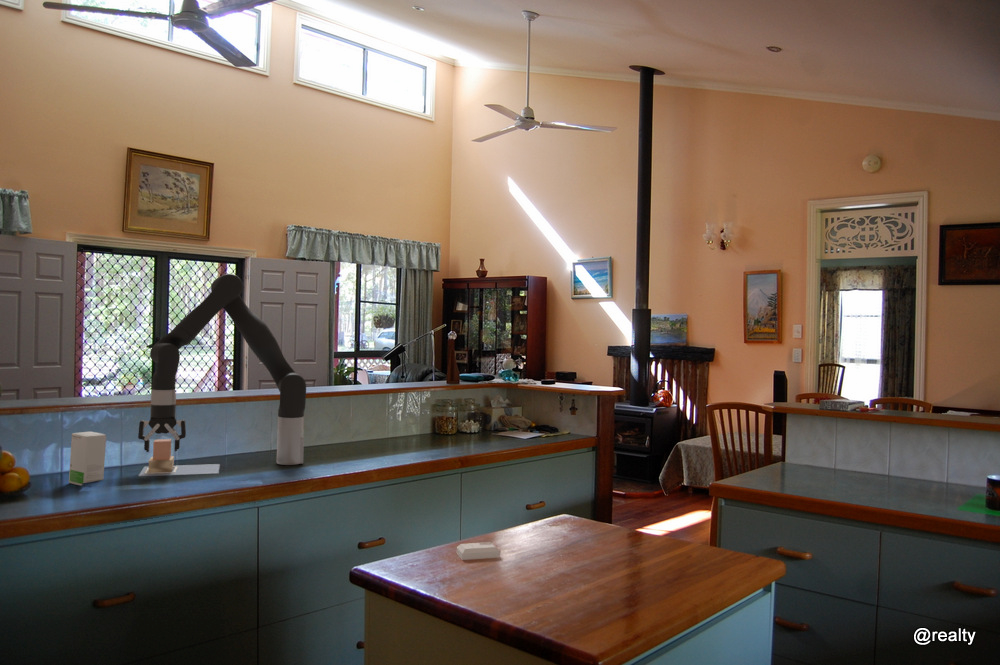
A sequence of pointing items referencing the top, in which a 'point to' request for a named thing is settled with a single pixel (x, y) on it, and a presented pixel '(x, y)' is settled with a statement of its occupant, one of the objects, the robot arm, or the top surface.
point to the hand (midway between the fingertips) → (161, 451)
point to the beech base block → (161, 465)
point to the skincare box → (87, 457)
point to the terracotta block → (162, 449)
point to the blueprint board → (185, 470)
